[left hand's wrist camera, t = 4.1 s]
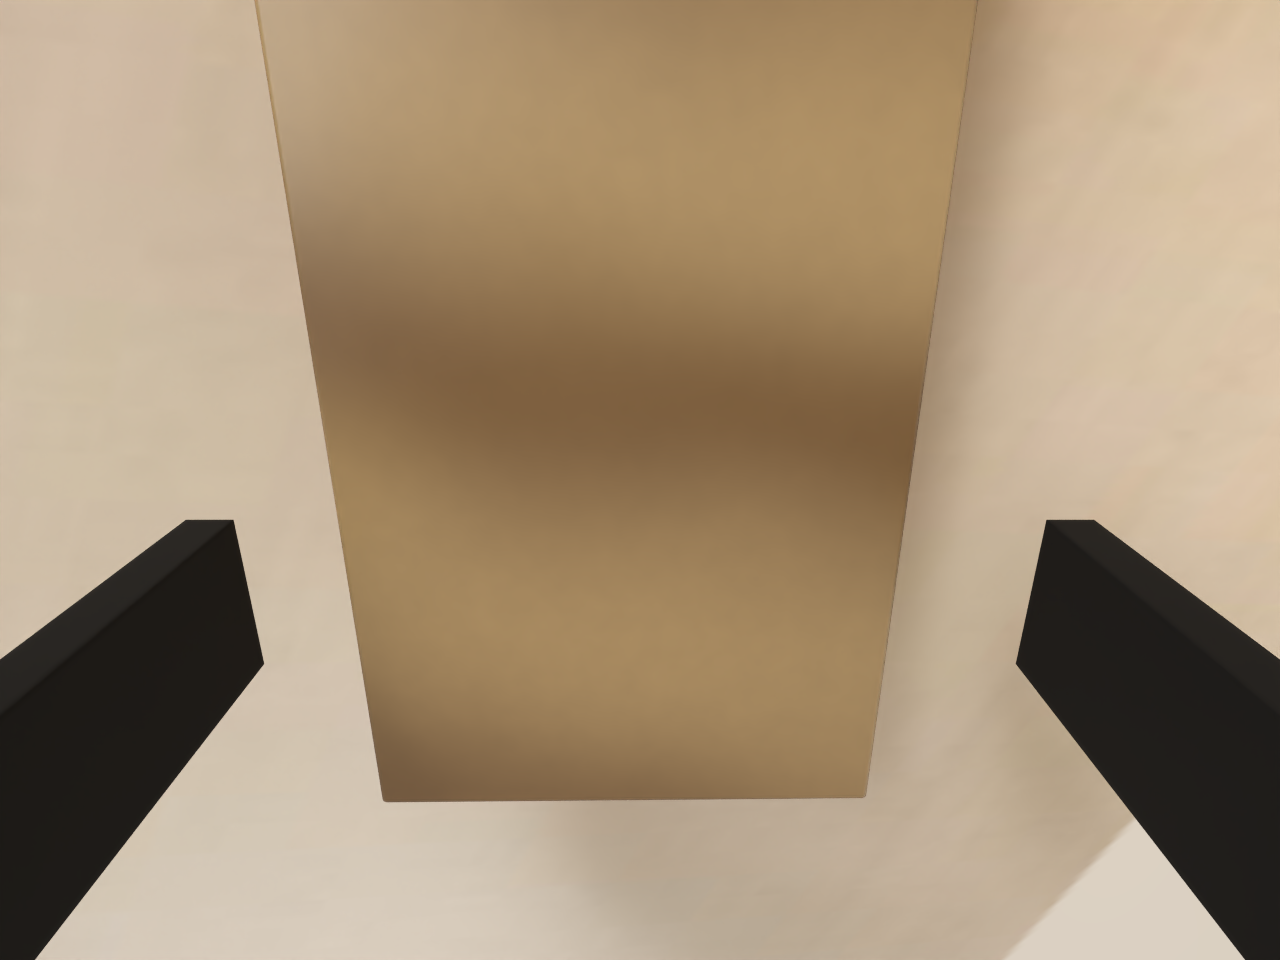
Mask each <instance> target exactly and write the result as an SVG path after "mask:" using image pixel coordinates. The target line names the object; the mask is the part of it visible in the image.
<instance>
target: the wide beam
mask: <svg viewBox="0 0 1280 960" xmlns="http://www.w3.org/2000/svg"><path fill="white" fill-rule="evenodd" d="M977 2H978V0H255V6H256V12H257V18H258V25H259V31H260V37H261V43H262V50H263V56H264V62H265V68H266V75H267V81H268V87H269V93H270V99H271V106H272V112H273V118H274V124H275V131H276V137H277V143H278V149H279V156H280V162H281V168H282V174H283V180H284V187H285V193H286V199H287V205H288V212H289V218H290V224H291V230H292V237H293V243H294V249H295V255H296V261H297V268H298V274H299V280H300V286H301V293H302V299H303V305H304V311H305V317H306V324H307V330H308V336H309V342H310V349H311V355H312V361H313V367H314V374H315V380H316V386H317V392H318V398H319V405H320V411H321V417H322V423H323V430H324V436H325V442H326V448H327V455H328V461H329V467H330V473H331V479H332V486H333V492H334V498H335V504H336V511H337V517H338V523H339V529H340V536H341V542H342V548H343V554H344V560H345V567H346V573H347V579H348V585H349V592H350V598H351V604H352V610H353V617H354V623H355V629H356V635H357V641H358V648H359V654H360V660H361V666H362V673H363V679H364V685H365V691H366V698H367V704H368V710H369V716H370V722H371V729H372V735H373V741H374V747H375V754H376V760H377V766H378V772H379V779H380V785H381V791H382V797H383V801H385V802H461V801H571V800H681V799H792V798H863V797H865V796H866V791H867V784H868V777H869V770H870V763H871V756H872V748H873V741H874V734H875V727H876V720H877V713H878V706H879V699H880V692H881V684H882V677H883V670H884V663H885V656H886V649H887V642H888V635H889V628H890V621H891V613H892V606H893V599H894V592H895V585H896V578H897V571H898V564H899V557H900V549H901V542H902V535H903V528H904V521H905V514H906V507H907V500H908V493H909V486H910V478H911V471H912V464H913V457H914V450H915V443H916V436H917V429H918V422H919V415H920V407H921V400H922V393H923V386H924V379H925V372H926V365H927V358H928V351H929V343H930V336H931V329H932V322H933V315H934V308H935V301H936V294H937V287H938V280H939V272H940V265H941V258H942V251H943V244H944V237H945V230H946V223H947V216H948V208H949V201H950V194H951V187H952V180H953V173H954V166H955V159H956V152H957V145H958V137H959V130H960V123H961V116H962V109H963V102H964V95H965V88H966V81H967V73H968V66H969V59H970V52H971V45H972V38H973V31H974V24H975V17H976V10H977Z"/></svg>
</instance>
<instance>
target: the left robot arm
mask: <svg viewBox="0 0 1280 960" xmlns="http://www.w3.org/2000/svg"><path fill="white" fill-rule="evenodd" d="M263 665H264V661H263V656H262V652H261V647H260V642H259V637H258V633H257V628H256V623H255V619H254V614H253V609H252V605H251V600H250V595H249V591H248V586H247V581H246V576H245V572H244V567H243V562H242V558H241V553H240V548H239V544H238V539H237V534H236V530H235V525H234V520H185V521H184V522H183V523H181V524H180V525H179V526H177V527H176V528H175V529H173V530H172V531H171V532H169V533H168V534H167V535H165V536H164V537H163V538H161V539H160V540H159V541H157V542H156V543H155V544H153V545H152V546H151V547H149V548H148V549H147V550H145V551H144V552H143V553H141V554H140V555H139V556H137V557H136V558H135V559H133V560H132V561H131V562H129V563H128V564H127V565H125V566H124V567H123V568H121V569H120V570H119V571H117V572H116V573H115V574H113V575H112V576H111V577H109V578H108V579H107V580H105V581H104V582H103V583H101V584H100V585H99V586H97V587H96V588H95V589H93V590H92V591H91V592H89V593H88V594H87V595H85V596H84V597H83V598H81V599H80V600H79V601H77V602H76V603H75V604H73V605H72V606H71V607H69V608H68V609H67V610H65V611H64V612H63V613H61V614H60V615H59V616H57V617H56V618H55V619H53V620H52V621H51V622H49V623H48V624H47V625H45V626H44V627H43V628H42V629H40V630H39V631H38V632H36V633H35V634H34V635H32V636H31V637H30V638H28V639H27V640H26V641H24V642H23V643H22V644H20V645H19V646H18V647H16V648H15V649H14V650H12V651H11V652H10V653H8V654H7V655H6V656H4V657H3V658H2V659H0V960H35V959H36V958H37V956H38V955H39V954H40V953H41V951H42V950H43V949H44V947H45V946H46V945H47V943H48V942H49V941H50V940H51V938H52V937H53V936H54V934H55V933H56V932H57V931H58V929H59V928H60V927H61V925H62V924H63V923H64V922H65V920H66V919H67V918H68V916H69V915H70V914H71V912H72V911H73V910H74V909H75V907H76V906H77V905H78V903H79V902H80V901H81V900H82V898H83V897H84V896H85V894H86V893H87V892H88V891H89V889H90V888H91V887H92V885H93V884H94V883H95V882H96V880H97V879H98V878H99V876H100V875H101V874H102V872H103V871H104V870H105V869H106V867H107V866H108V865H109V863H110V862H111V861H112V860H113V858H114V857H115V856H116V854H117V853H118V852H119V851H120V849H121V848H122V847H123V845H124V844H125V843H126V841H127V840H128V839H129V838H130V836H131V835H132V834H133V832H134V831H135V830H136V829H137V827H138V826H139V825H140V823H141V822H142V821H143V820H144V818H145V817H146V816H147V814H148V813H149V812H150V811H151V809H152V808H153V807H154V805H155V804H156V803H157V801H158V800H159V799H160V798H161V796H162V795H163V794H164V792H165V791H166V790H167V789H168V787H169V786H170V785H171V783H172V782H173V781H174V780H175V778H176V777H177V776H178V774H179V773H180V772H181V770H182V769H183V768H184V767H185V765H186V764H187V763H188V761H189V760H190V759H191V758H192V756H193V755H194V754H195V752H196V751H197V750H198V749H199V747H200V746H201V745H202V743H203V742H204V741H205V740H206V738H207V737H208V736H209V734H210V733H211V732H212V730H213V729H214V728H215V727H216V725H217V724H218V723H219V721H220V720H221V719H222V718H223V716H224V715H225V714H226V712H227V711H228V710H229V709H230V707H231V706H232V705H233V703H234V702H235V701H236V699H237V698H238V697H239V696H240V694H241V693H242V692H243V690H244V689H245V688H246V687H247V685H248V684H249V683H250V681H251V680H252V679H253V678H254V676H255V675H256V674H257V672H258V671H259V670H260V669H261V667H262V666H263ZM1016 665H1017V666H1018V667H1019V669H1020V670H1021V671H1022V672H1023V674H1024V675H1025V676H1026V678H1027V679H1028V680H1029V681H1030V683H1031V684H1032V685H1033V687H1034V688H1035V689H1036V690H1037V692H1038V693H1039V694H1040V696H1041V697H1042V698H1043V699H1044V701H1045V702H1046V703H1047V705H1048V706H1049V707H1050V709H1051V710H1052V711H1053V712H1054V714H1055V715H1056V716H1057V718H1058V719H1059V720H1060V721H1061V723H1062V724H1063V725H1064V727H1065V728H1066V729H1067V730H1068V732H1069V733H1070V734H1071V736H1072V737H1073V738H1074V740H1075V741H1076V742H1077V743H1078V745H1079V746H1080V747H1081V749H1082V750H1083V751H1084V752H1085V754H1086V755H1087V756H1088V758H1089V759H1090V760H1091V761H1092V763H1093V764H1094V765H1095V767H1096V768H1097V769H1098V770H1099V772H1100V773H1101V774H1102V776H1103V777H1104V778H1105V780H1106V781H1107V782H1108V783H1109V785H1110V786H1111V787H1112V789H1113V790H1114V791H1115V792H1116V794H1117V795H1118V796H1119V798H1120V799H1121V800H1122V801H1123V803H1124V804H1125V805H1126V807H1127V808H1128V809H1129V811H1130V812H1131V813H1132V814H1133V816H1134V817H1135V818H1136V820H1137V821H1138V822H1139V823H1140V825H1141V826H1142V827H1143V829H1144V830H1145V831H1146V832H1147V834H1148V835H1149V836H1150V838H1151V839H1152V840H1153V841H1154V843H1155V844H1156V845H1157V847H1158V848H1159V849H1160V851H1161V852H1162V853H1163V854H1164V856H1165V857H1166V858H1167V859H1168V861H1169V862H1170V863H1171V865H1172V866H1173V867H1174V869H1175V870H1176V871H1177V872H1178V874H1179V875H1180V876H1181V878H1182V879H1183V880H1184V881H1185V883H1186V884H1187V885H1188V887H1189V888H1190V889H1191V891H1192V892H1193V893H1194V894H1195V896H1196V897H1197V898H1198V900H1199V901H1200V902H1201V903H1202V905H1203V906H1204V907H1205V909H1206V910H1207V911H1208V912H1209V914H1210V915H1211V916H1212V918H1213V919H1214V920H1215V922H1216V923H1217V924H1218V925H1219V927H1220V928H1221V929H1222V931H1223V932H1224V933H1225V934H1226V936H1227V937H1228V938H1229V940H1230V941H1231V942H1232V943H1233V945H1234V946H1235V947H1236V949H1237V950H1238V951H1239V952H1240V954H1241V955H1242V956H1243V958H1244V959H1245V960H1280V659H1278V658H1277V657H1276V656H1274V655H1273V654H1272V653H1270V652H1269V651H1268V650H1266V649H1265V648H1264V647H1262V646H1261V645H1260V644H1258V643H1257V642H1256V641H1254V640H1253V639H1252V638H1250V637H1249V636H1248V635H1246V634H1245V633H1244V632H1242V631H1241V630H1240V629H1238V628H1237V627H1236V626H1235V625H1233V624H1232V623H1231V622H1229V621H1228V620H1227V619H1225V618H1224V617H1223V616H1221V615H1220V614H1219V613H1217V612H1216V611H1215V610H1213V609H1212V608H1211V607H1209V606H1208V605H1207V604H1205V603H1204V602H1203V601H1201V600H1200V599H1199V598H1197V597H1196V596H1195V595H1193V594H1192V593H1191V592H1189V591H1188V590H1187V589H1185V588H1184V587H1183V586H1181V585H1180V584H1179V583H1177V582H1176V581H1175V580H1173V579H1172V578H1171V577H1169V576H1168V575H1167V574H1165V573H1164V572H1163V571H1161V570H1160V569H1159V568H1157V567H1156V566H1155V565H1153V564H1152V563H1151V562H1149V561H1148V560H1147V559H1145V558H1144V557H1143V556H1141V555H1140V554H1139V553H1137V552H1136V551H1135V550H1133V549H1132V548H1131V547H1129V546H1128V545H1127V544H1125V543H1124V542H1123V541H1121V540H1120V539H1119V538H1117V537H1116V536H1115V535H1113V534H1112V533H1111V532H1109V531H1108V530H1107V529H1105V528H1104V527H1103V526H1101V525H1100V524H1099V523H1097V522H1096V521H1095V520H1046V525H1045V530H1044V534H1043V539H1042V544H1041V548H1040V553H1039V558H1038V562H1037V567H1036V572H1035V576H1034V581H1033V586H1032V591H1031V595H1030V600H1029V605H1028V609H1027V614H1026V619H1025V623H1024V628H1023V633H1022V637H1021V642H1020V647H1019V652H1018V656H1017V661H1016Z"/></svg>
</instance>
